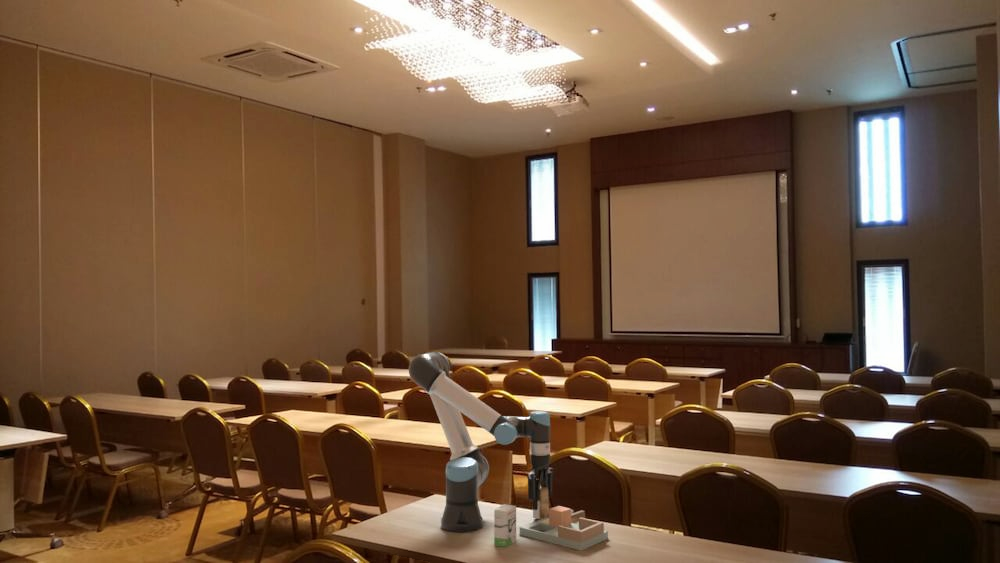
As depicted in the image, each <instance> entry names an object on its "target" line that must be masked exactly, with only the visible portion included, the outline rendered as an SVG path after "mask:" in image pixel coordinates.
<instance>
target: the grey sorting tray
mask: <svg viewBox="0 0 1000 563" xmlns="http://www.w3.org/2000/svg"><path fill="white" fill-rule="evenodd" d="M604 524H605V522H603V521H597V520H593V519H589V518H586V517H585V518H581V517H580V518H579V522H578V523H571V525H568V526H566V527H564V526H558V527H556V526H552V525H549V517H546V518H543V519H537V520H535V521H533V522H530V523H526V524H525V525H524V524H523V525H522V526H519V535H521V536H525V537H528V538H532V539H535V540H538V541H543V542H546V543H547V542H548V543H551V544H555V545H559V546H562V547H566V548H570V549H574V550H577V551H581V552H582V551H584V550H586V549H589V548H591V547H593V546H594V545H597V544H599V543H602V542H603V541H606V540H608V539H609V531H607V530H605V527H604V526H605V525H604Z"/></svg>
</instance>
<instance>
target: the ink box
mask: <svg viewBox="0 0 1000 563" xmlns="http://www.w3.org/2000/svg"><path fill="white" fill-rule="evenodd" d="M493 513H494V514H493V517H494V519H493V523H494V524H493V526H494V528H493V529H494V531H493V533H494V534H493V535H494V536H493V537H494V542H493V544H494V545H493V546H495V547H503V548H504V547H505V548H508V547H510V546H511V545H512V544H513V543H514V542H516V541H517V505H512V504H505V503H504V504H502V505H499V506H498V507H496V508H495V509H494V511H493Z"/></svg>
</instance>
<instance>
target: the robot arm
mask: <svg viewBox="0 0 1000 563" xmlns="http://www.w3.org/2000/svg"><path fill="white" fill-rule="evenodd" d="M450 368H451V366H450V362H449V360H448V358H447V357H446V356H445V355H444V354H442V353H440V352H436V351H429V352H426V353H421V354H420V353H419V354H418V355H416V356H414V357H413V358H412V360H411V361H410V362H409V366H408V374H409V377H410V379H411V381H413V382H414V384H416V385H417V386H419V387H420V388H422V389H423V392H424V393H426V394H428V395H429V397H430V399H431V402H432V404H433V407H434V409H435V412H436V415H437V417H438V420H439V423H440V425H441V428H442V430H443V433H444V435H445V438H446V440H447V444H448V446H449V448H450V449H449V450H450V452H451V455H450V458H449V461H448V462H446V466H445V472H444V473H445V507H444V509H443V513H442V517H441V519H440V527H441V528H442V530H446V531H449V532H452V533H453V532H454V533H455V532H456V533H467V532H468V533H469V532H473V531H477V530H480V529H481V528H482V527H483V526H484V520H483V517H482V514H481V510H480V505H479V487H480V486H481V485H482V484H483V483H484V482H485V481H486V480H487V479H488V475H489V472H490V465H489V462H488V460H487V458H486V457H484V455H482V452H481V451H480V449H479V446H477V445H475V444H473V441H472V439H471V435H470V433H469V431H468V428H467V426H466V423H465V420H464V418H463V415H464V416H466V417H467V418H468V419H470V420H471V421H473V422H474V423H475V424H476V425H477V426H480V427H481V428H483V429H484V431H485V430H486V432H488V433H489V434H490V435H492V436H494V439H495V441H496V442H497V443H498V444H500V445H503V446H506V445H509V444H511V443H513V442H515V441H516V439H517V438H529V452H530V454H529V461H530V462H529V463H530V465H531V466H532V468H531V471H530V472H527V474H526V476H527V477H526V478H527V488H528V490H527V493H528V494H527V496H528V500H530V501H532V502H531V503H532V518H533V519H536V518H537V519H536V520H540V501H538V500H539V491H540V486H542V487H548V498H549V499H550V498H552V494H553V474H554V468H553V467H549V465H550V464H551V454H550V453H551V419H550V418H551V417H550V413H549V412H548V411H544V410H539V411H537V410H535V411H534V410H533V411H531V412H530V413H529V416H511V415H506V416H505V415H503V416H502V414H500V413H498V411H496V410H495V409H493V408H492V407H491V406H489V405H487V404H486V403H485V402H483V401H482V400H480V399H479V398H478V397H476V396H475V395H474V394H473V393H470V391H468V390H466V389H465V388H464V387H462V386H461V385H459V383H456V381H454V380H453V379H452V376H451V374H450Z"/></svg>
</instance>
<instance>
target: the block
mask: <svg viewBox="0 0 1000 563" xmlns="http://www.w3.org/2000/svg"><path fill="white" fill-rule="evenodd" d="M571 510H572V509H571V508H569V507H565V506H561V505H557V506H554V507H551V508H550V507H549V525H552V526H556V527H558V526H564V527H566V526H568V525H571Z"/></svg>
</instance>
